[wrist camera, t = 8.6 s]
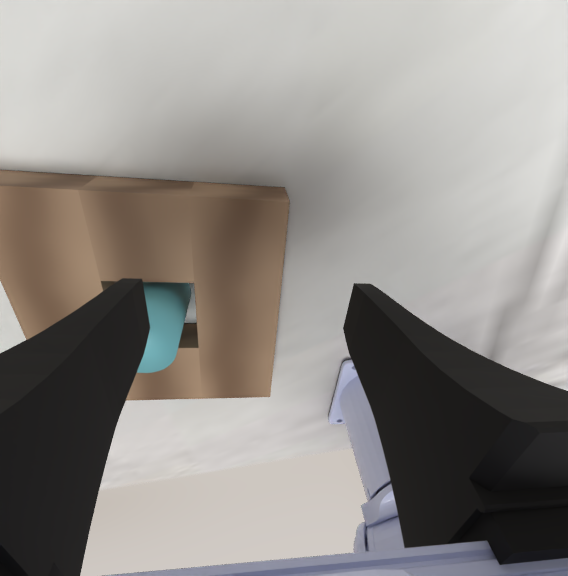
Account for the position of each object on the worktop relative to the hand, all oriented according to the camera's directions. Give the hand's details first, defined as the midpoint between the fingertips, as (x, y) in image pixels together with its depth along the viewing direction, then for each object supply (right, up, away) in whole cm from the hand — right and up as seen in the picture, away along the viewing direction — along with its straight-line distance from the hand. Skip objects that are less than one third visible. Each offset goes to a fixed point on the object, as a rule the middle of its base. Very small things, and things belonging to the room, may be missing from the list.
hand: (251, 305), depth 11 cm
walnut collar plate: (-7, 0, +10) cm, 12 cm away
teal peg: (-7, 0, +10) cm, 12 cm away
